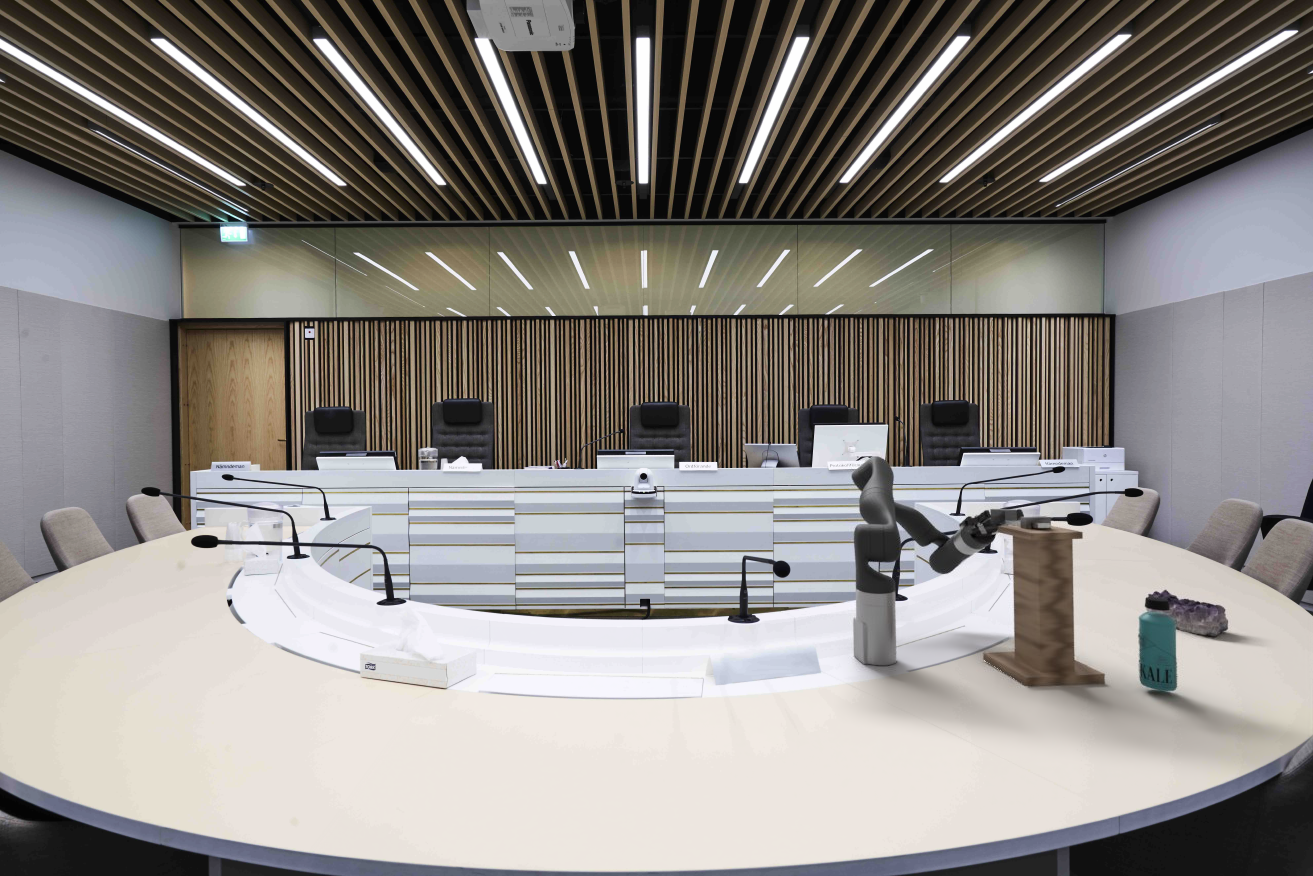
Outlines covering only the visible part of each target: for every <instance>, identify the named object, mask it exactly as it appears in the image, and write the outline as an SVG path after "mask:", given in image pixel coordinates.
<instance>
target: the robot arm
mask: <svg viewBox="0 0 1313 876" xmlns="http://www.w3.org/2000/svg"><path fill="white" fill-rule="evenodd" d="M894 478H895V475H894V471H893V469H892V466H891V465H890V463H889V462H888V461H887V460H886V459H884V458H882V457H881V456H872V457H869V459H867V460H866V461H864V462H863V463H862V464H861V465H860V466H859V467H857V468H856V469H855V470H853V472H852V473H851V480H852V483H853V484H854V485H855V486H856V487H857V489H858V490H860V492H861V493H860V496H859V500H858V505H859V507H858V508H859V514H860V516H861V518H862V519H863V520H864V522H865V523H860V524H857V525H856V526H855V527H854V530H853V531H854V532H853V549H854V560H855V563H854V564H855V617H853V619H852V626H853V630H852V631H853V632H852V633H853V656H854V657H855V658H856V659H857V660H859V662H861V664H863V665H867V664H868V665H873V666H888V665H889V666H891V665H894V664H896V663H897V626H896V625H897V624H896V623H897V620H896V618H897V617H896V616H897V615H896V582H895V579H894V578H893V577H891V576H890V575H888V574H884V573H882V572H880V571H877V570H875V569H874V568H873V567H872V566H870V564H869V563H894V562H896V561H898V559H899V558H900V556H901V552H902V540H901V535H900V531H899V528H898V527H899V526H898V525H900V526H901V528H902V529H903V530H904V531H905V532H906V533H907V534H908V535H909V536H910V538H912V539H913V540H914V539H915V540H914V542H916V544H917V545H919V546H920V547H924V548H925V547H927V546H930V545H932V544H933V545H935V546H937V548H936V549H935V550H934V551H933V552H932V553H931V554H930V556H929V558H928V563H929V566H930V568H931V569H932V571H934V572H935V573H937V574H941V575H948V574H950V573H951V572H953V571H954V570H955V569H956V568H957V567H958V566H959V565H960V564H961V563H962V562H964V561H965V560H967V559H968V558H970V557H972V556H973V555H974V554H976V553H978V552H981V551H982V550H983V549H985V548H986V547H987V546H989V545H990V544H992V543H993V542H994V540H995V539H996V536H997V534H999V532H998V526H1015V525H1006V524H997V523H991V513H990V510H989V509H986V510H984V511H982V512H981V513H980V514H976V515H974V517H972V515H971V516H969V515H968V516H967V517H965V519H964V520H962V521H961V522H960V523H959V524H958V527H959V529H958V530H957V531H956V532H955V533H954V535H952V536H951V537H949V536H948V535H946V534H945V533H943V532H942V531H940V530H939V529H938V528H936V527H935V526H934V525H933V523H931V521H930V520H929V519H928V518H927V517H926V515H924V514H923V513H922V512H920V511H919V510H917V509H915V508H913V507H910V506H907V505H905V504H901V503H898V502H895V497H894V492H893V491H894V489H893V486H894V480H895V479H894ZM1015 510H1016V512H1017V520H1021V517H1025V515H1024V512H1023V510H1022V509H1021V508H1017V509H1015ZM897 523H898V524H897Z"/></svg>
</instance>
